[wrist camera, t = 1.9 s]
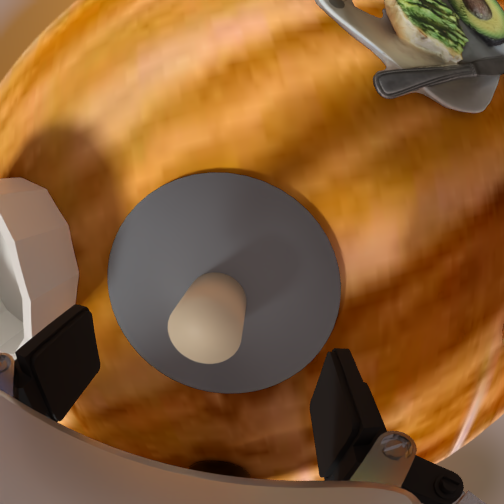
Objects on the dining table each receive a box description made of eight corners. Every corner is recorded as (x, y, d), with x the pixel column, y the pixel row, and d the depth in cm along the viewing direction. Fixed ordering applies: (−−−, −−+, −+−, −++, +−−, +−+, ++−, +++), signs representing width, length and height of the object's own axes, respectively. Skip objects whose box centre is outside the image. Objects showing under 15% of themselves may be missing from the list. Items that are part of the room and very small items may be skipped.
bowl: (40, 351, 19) (7, 382, 14) (-25, 246, 17) (-62, 260, 12) (106, 278, 17) (60, 311, 12) (24, 146, 15) (-26, 144, 9)
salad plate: (448, 187, 15) (491, 192, 11) (245, 15, 13) (241, -26, 9) (513, 57, 11) (541, 48, 7) (375, -66, 9) (388, -91, 5)
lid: (211, 411, 20) (202, 455, 15) (79, 272, 18) (38, 295, 13) (377, 311, 17) (406, 347, 13) (236, 122, 15) (225, 97, 10)
